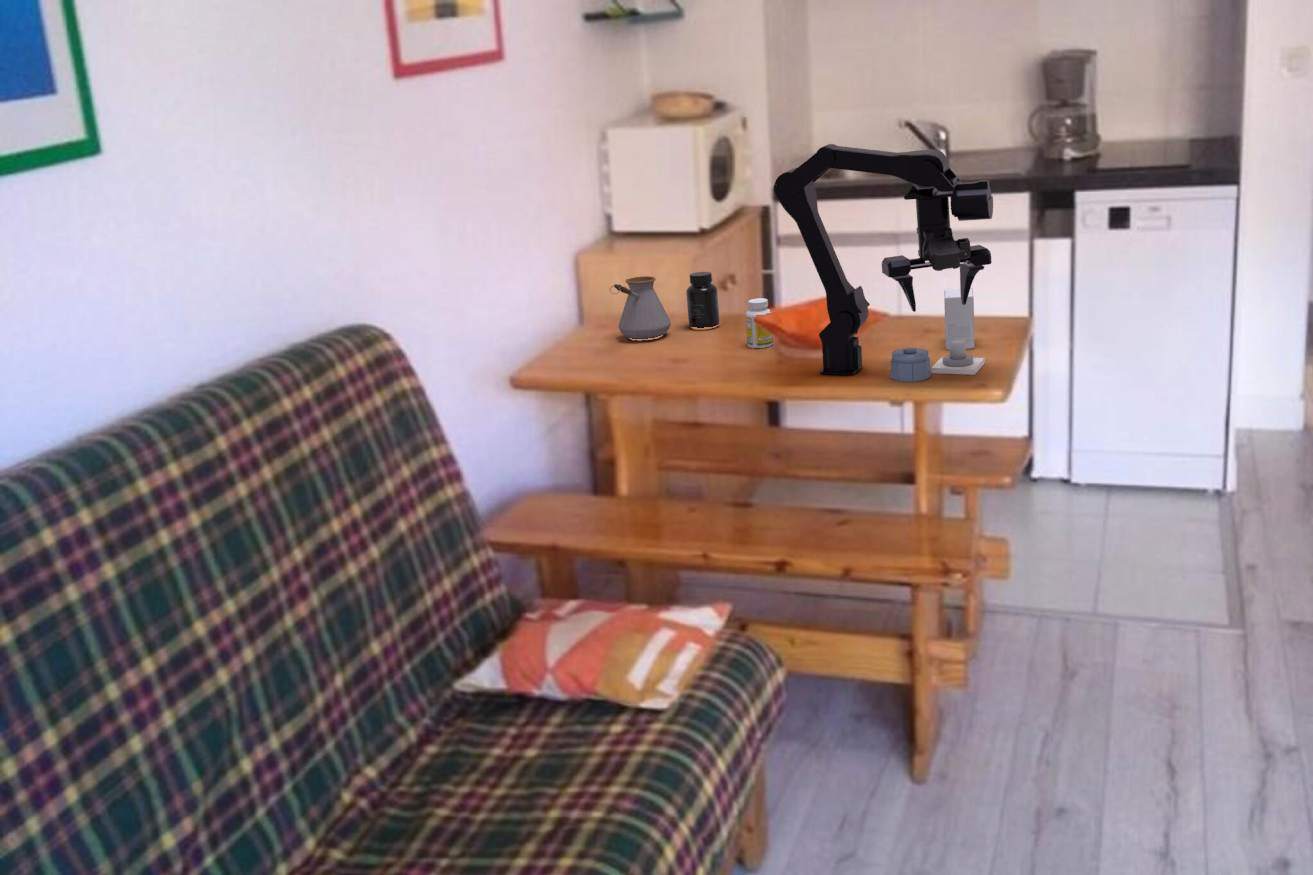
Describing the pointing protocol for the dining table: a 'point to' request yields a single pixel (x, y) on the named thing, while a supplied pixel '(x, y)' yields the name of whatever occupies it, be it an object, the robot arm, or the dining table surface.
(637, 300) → the coffee pot
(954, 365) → the two-tone square knobbed fixture
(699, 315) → the supplement bottle
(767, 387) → the dining table surface
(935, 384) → the dining table surface
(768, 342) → the supplement bottle
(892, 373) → the cap
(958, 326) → the small box
